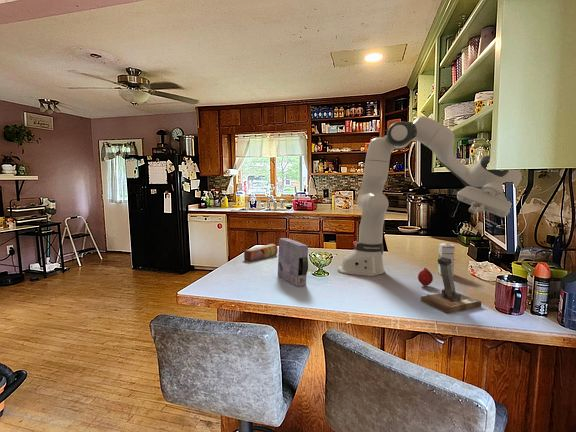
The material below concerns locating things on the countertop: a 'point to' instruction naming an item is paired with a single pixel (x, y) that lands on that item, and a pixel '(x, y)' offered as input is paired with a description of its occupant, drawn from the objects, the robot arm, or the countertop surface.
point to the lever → (447, 276)
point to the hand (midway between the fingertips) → (472, 211)
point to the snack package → (260, 252)
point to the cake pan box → (293, 261)
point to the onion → (425, 277)
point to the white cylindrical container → (446, 254)
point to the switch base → (450, 302)
